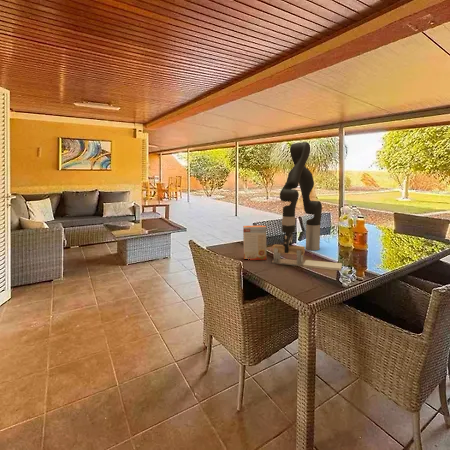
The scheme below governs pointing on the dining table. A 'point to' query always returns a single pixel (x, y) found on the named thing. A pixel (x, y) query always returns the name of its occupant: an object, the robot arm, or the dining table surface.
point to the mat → (323, 265)
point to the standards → (286, 261)
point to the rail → (291, 249)
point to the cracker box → (254, 242)
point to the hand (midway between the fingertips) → (288, 251)
